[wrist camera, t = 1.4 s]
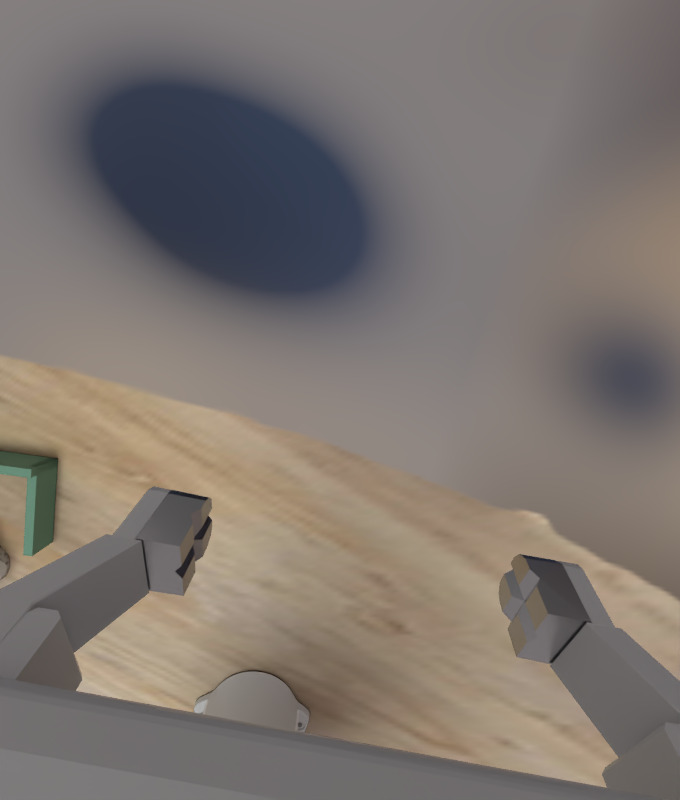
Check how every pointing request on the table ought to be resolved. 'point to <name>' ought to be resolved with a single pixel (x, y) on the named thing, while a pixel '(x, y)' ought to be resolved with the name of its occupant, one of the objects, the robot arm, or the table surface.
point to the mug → (4, 563)
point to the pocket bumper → (35, 496)
